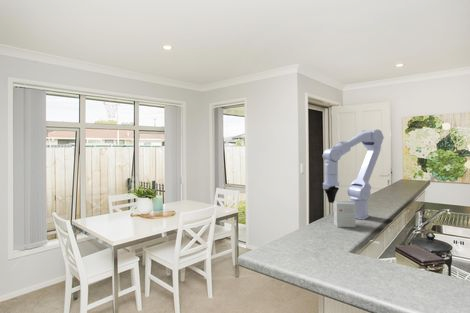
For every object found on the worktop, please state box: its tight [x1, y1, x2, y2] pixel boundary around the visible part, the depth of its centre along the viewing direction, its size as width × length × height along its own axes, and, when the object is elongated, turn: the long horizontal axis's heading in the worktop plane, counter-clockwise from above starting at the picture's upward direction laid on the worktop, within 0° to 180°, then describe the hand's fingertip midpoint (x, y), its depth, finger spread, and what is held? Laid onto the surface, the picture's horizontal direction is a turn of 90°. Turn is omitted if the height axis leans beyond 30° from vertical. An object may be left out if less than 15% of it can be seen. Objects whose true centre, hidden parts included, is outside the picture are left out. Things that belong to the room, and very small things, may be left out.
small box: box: [333, 200, 356, 228], centre depth 128 cm, size 8×6×10 cm
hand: (331, 202), depth 137 cm, fingers closed
